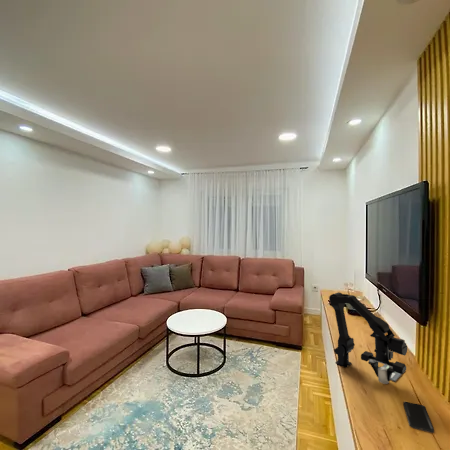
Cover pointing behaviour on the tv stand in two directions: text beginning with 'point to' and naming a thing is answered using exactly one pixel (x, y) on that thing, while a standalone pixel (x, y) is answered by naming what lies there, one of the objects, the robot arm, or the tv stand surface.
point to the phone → (418, 417)
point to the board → (393, 374)
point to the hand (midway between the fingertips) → (383, 378)
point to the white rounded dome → (382, 375)
